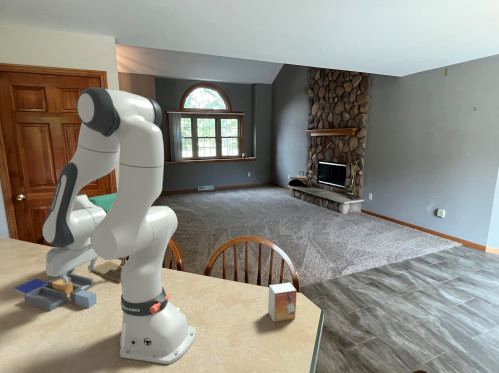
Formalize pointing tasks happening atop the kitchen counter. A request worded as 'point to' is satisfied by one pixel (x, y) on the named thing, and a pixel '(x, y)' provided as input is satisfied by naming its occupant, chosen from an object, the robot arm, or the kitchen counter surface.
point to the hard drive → (30, 286)
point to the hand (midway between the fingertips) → (79, 275)
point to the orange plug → (60, 285)
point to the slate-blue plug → (83, 298)
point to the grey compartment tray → (56, 293)
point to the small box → (282, 302)
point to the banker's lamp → (108, 267)
